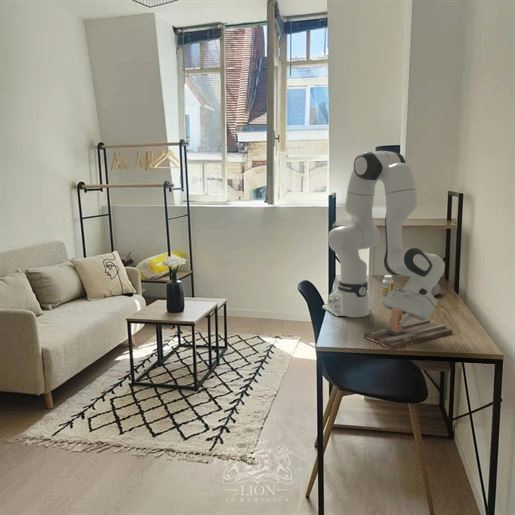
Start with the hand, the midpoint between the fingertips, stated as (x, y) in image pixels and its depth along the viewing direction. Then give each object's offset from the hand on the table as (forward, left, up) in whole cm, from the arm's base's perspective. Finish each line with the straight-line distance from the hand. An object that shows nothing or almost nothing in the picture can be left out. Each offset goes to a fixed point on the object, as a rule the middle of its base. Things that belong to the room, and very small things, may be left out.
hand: (395, 322), depth 168 cm
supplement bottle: (-48, +43, -7) cm, 65 cm away
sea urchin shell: (-39, +60, -7) cm, 72 cm away
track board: (0, +7, -6) cm, 10 cm away
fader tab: (0, +1, -5) cm, 5 cm away
